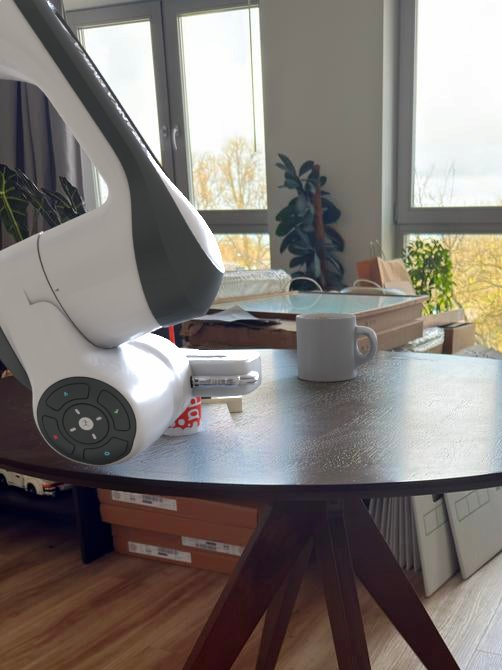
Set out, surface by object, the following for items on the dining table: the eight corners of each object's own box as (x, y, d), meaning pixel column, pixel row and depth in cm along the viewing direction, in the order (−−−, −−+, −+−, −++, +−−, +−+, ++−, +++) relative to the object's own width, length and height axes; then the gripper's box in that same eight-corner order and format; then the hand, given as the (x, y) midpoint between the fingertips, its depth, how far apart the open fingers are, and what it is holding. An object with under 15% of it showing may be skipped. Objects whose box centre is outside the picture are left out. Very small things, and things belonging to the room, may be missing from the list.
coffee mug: (290, 380, 119) (287, 318, 116) (309, 370, 128) (307, 312, 125) (368, 383, 117) (368, 320, 113) (382, 373, 126) (382, 314, 122)
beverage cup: (169, 442, 78) (156, 308, 73) (143, 431, 82) (128, 304, 77) (219, 432, 82) (209, 305, 77) (191, 423, 86) (180, 301, 81)
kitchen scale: (134, 418, 94) (131, 395, 93) (137, 398, 106) (135, 378, 105) (242, 411, 98) (241, 389, 97) (234, 393, 109) (233, 373, 108)
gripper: (253, 348, 67) (268, 331, 80) (27, 348, 66) (79, 330, 79) (257, 416, 69) (271, 388, 82) (38, 416, 68) (87, 388, 81)
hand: (175, 360), depth 80 cm, fingers closed on beverage cup, 6 cm apart
